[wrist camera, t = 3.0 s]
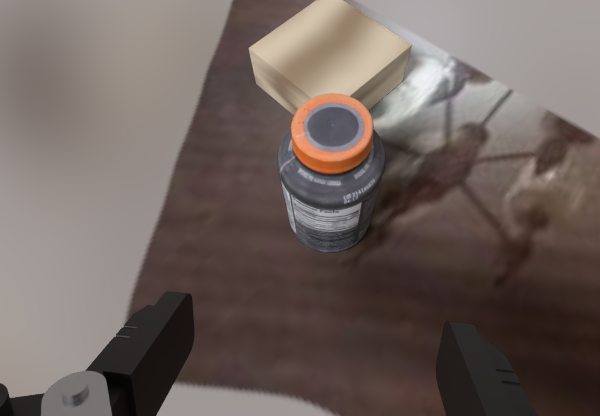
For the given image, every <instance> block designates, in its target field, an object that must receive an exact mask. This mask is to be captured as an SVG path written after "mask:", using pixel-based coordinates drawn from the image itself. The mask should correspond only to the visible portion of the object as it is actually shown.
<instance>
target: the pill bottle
mask: <svg viewBox="0 0 600 416" xmlns="http://www.w3.org/2000/svg"><path fill="white" fill-rule="evenodd" d="M384 168H385V151H384V146H383V144H382V141H381V139H380V137H379V136H378V134H377V133H376V131H375V130H374V129H373V120H372V117H371V115H370V113H369V111H368V110H367V108H366V107H365V106H364V105H363V104H362V103H361V102H359V101H358V100H356V99H354V98H352V97H350V96H347V95H343V94H335V93H329V94H323V95H319V96H316V97H313V98H311V99H310V100H308V101H306V102H305V103H304V104H302V105H301V106H300V108H299V109H298V110H297V112H296V113H295V115H294V117H293V120H292V124H291V128H290V130H289V131H288V132H287V133H286V135H285V136H284V138H283V140H282V142H281V144H280V148H279V151H278V169H279V176H280V181H281V185H282V189H283V194H284V198H285V203H286V207H287V212H288V216H289V221H290V225H291V227H292V230H293V232H294V234H295V236H296V237H297V238H298V239H299V240H300V241H301V242H302V243H303V244H304V245H306V246H307V247H309V248H311V249H313V250H316V251H320V252H324V253H335V252H340V251H344V250H346V249H349V248H350V247H352V246H354V245H355V244H357V243H358V242H359V241H360V240H361V238H362V237H363V236H364V235H365V233H366V231H367V229H368V226H369V224H370V220H371V217H372V213H373V210H374V206H375V202H376V198H377V195H378V191H379V187H380V183H381V180H382V176H383V173H384Z"/></svg>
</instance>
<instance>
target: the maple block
mask: <svg viewBox="0 0 600 416" xmlns="http://www.w3.org/2000/svg"><path fill="white" fill-rule="evenodd" d="M411 47H412V45H411V44H409V43H408V42H406V41H405V40H403V39H402V38H400V37H399V36H397V35H396V34H394V33H392V32H391V31H389V30H388V29H386V28H385V27H383V26H382V25H380V24H379V23H377V22H375V21H374V20H372V19H371V18H369V17H368V16H366V15H365V14H363V13H362V12H360V11H358V10H357V9H355V8H354V7H352V6H351V5H349V4H348V3H346V2H345V1H343V0H316V1H315V2H313V3H312V4H311V5H309V6H308V7H306V8H305V9H303V10H302V11H301V12H299V13H298V14H296V15H295V16H294V17H292V18H291V19H289V20H288V21H286V22H285V23H284V24H282V25H281V26H279V27H278V28H277V29H275V30H274V31H272V32H271V33H270V34H268V35H267V36H265V37H264V38H262V39H261V40H260V41H258V42H257V43H255V44H254V45H253V46H251V47H250V48H249V52H250V57H251V61H252V66H253V71H254V75H255V80H256V84H257V85H258V86H260V87H261V88H262V89H263V90H264V91H266V92H267V93H268V94H269V95H270V96H272V97H273V98H274V99H275V100H276V101H278V102H279V103H280V104H281V105H282V106H284V107H285V108H286V109H287V110H288V111H290V112H291V113H292V114H293V115H295V113H296V112H297V110H298V109H299V108H300V106H301V105H302V104H304V103H305V102H306V101H308V100H310V99H311V98H313V97H316V96H319V95H323V94H329V93H335V94H343V95H347V96H350V97H352V98H354V99H356V100H358V101H359V102H361V103H362V104H363V105H364V106H365V107H366V108H367V110H369V109H371V108H372V107H373V106H374V105H375V104H377V103H378V102H379V101H380V100H381V99H382V98H384V97H385V96H386V95H387V94H388V93H390V92H391V91H392V90H393V89H394V88H395V87H397V86H398V85H399V84H400V83H401V82H402V80H403V77H404V73H405V69H406V65H407V62H408V58H409V54H410V50H411Z"/></svg>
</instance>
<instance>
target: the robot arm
mask: <svg viewBox="0 0 600 416" xmlns="http://www.w3.org/2000/svg"><path fill="white" fill-rule="evenodd" d="M193 342H194V319H193V303H192V296H191V294H189V293H179V292H170V291H167V292H165V293H164V294H163V296H162V297H161V298H160V299H159V301H158V302H157V303H156V304H155V306H151V305H147V306H146V307H144V308H143V309H141V310H139V311H138V312H136V313H135V314H133V315H132V317H131V318H130V319H129V320H128V321H127V322H126V324H125V325H124V327H123V328H121V329H120V331H119V332H118V333H117V334H116V337H114V338H113V339H112V340H111V341H110V342H109V344H108V345H107V346H106V347H105V348H104V349H103V351H102V352H101V353H100V354H99V355H98V356H97V358H96V359H95V360H94V361H93V362H92V364H91V365H90V366H89V367H88V368H87V370H86V371H82V372H77V373H73V374H70V375H68V376H66V377H63V378H62V379H60V380H58V381H57V382H56V383H54V384H53V385H52V386H51V387H50V388H49V389H48V390H47V391H46V393H43V394H37V395H30V396H22V397H15V398H10V397H9V394H8V390H7V388H6V387H5V386H4V385H3V384H1V383H0V416H156V415H157V413H158V411H159V409H160V407H161V406H162V404H163V402H164V400H165V398H166V396H167V395H168V393H169V391H170V389H171V387H172V385H173V384H174V382H175V380H176V378H177V376H178V374H179V372H180V371H181V369H182V367H183V365H184V363H185V361H186V360H187V358H188V356H189V354H190V352H191V349H192V346H193ZM436 378H437V384H438V387H439V391H440V395H441V398H442V402H443V405H444V409H445V412H446V416H538V415H537V413H536V412H535V410H534V408H533V406H532V404H531V402H530V400H529V399H528V397H527V395H526V393H525V391H524V389H523V387H522V386H520V382H519V380H518V378H517V376H516V374H514V373H513V369H512V367H511V365H510V363H509V361H508V360H507V358H506V356H505V355H504V354H503V353H502V352H501V351H499V350H498V349H497V348H496V347H495V346H494V345H493V344H492V343H485V342H482V340H481V338H480V336H479V334H478V332H477V330H476V328H475V326H474V325H473V324H468V323H459V322H449V321H447V322H446V323H445V325H444V329H443V334H442V338H441V343H440V348H439V353H438V357H437V363H436Z"/></svg>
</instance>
